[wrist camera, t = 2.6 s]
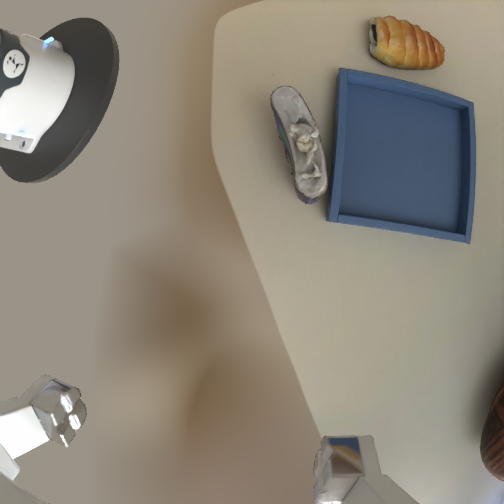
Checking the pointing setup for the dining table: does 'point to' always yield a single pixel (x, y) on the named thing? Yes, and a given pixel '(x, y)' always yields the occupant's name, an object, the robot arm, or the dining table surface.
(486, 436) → the jug
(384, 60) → the pastry
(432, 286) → the dining table surface
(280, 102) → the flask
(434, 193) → the blue tray
